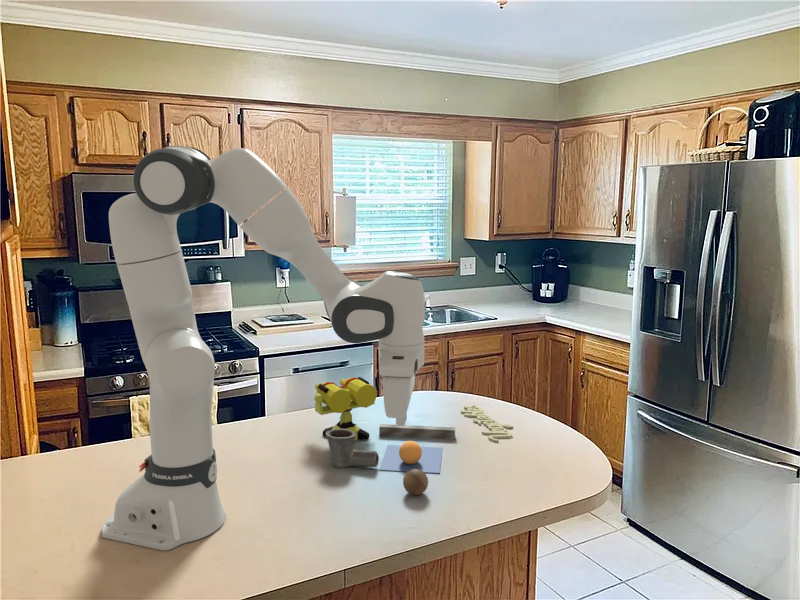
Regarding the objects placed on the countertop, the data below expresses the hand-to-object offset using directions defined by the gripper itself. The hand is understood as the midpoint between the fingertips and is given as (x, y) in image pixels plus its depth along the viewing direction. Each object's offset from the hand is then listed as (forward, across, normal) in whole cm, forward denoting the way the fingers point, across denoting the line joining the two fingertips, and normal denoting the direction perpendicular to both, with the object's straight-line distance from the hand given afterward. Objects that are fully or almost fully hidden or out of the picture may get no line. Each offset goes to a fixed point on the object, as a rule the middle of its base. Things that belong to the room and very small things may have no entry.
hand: (401, 423), depth 120 cm
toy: (+19, -38, -20) cm, 47 cm away
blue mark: (+19, -25, 0) cm, 31 cm away
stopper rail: (+19, -39, 0) cm, 43 cm away
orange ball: (+16, -23, 0) cm, 28 cm away
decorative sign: (+20, -51, +19) cm, 58 cm away
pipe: (+19, -20, -14) cm, 31 cm away
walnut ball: (+16, -8, +2) cm, 18 cm away
